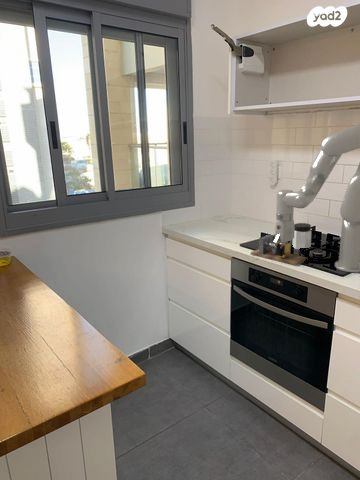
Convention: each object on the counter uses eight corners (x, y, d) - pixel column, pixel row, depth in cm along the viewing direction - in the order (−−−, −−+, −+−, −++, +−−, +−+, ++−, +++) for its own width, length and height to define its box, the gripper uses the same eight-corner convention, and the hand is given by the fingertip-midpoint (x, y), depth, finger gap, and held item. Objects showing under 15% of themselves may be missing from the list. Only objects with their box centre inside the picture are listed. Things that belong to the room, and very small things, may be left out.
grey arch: (272, 252, 178) (272, 235, 176) (263, 256, 173) (263, 239, 171) (268, 251, 180) (268, 234, 177) (258, 255, 175) (259, 238, 172)
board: (307, 260, 166) (307, 257, 165) (296, 266, 159) (296, 263, 159) (262, 249, 184) (262, 247, 183) (250, 254, 177) (250, 252, 177)
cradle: (278, 256, 173) (279, 247, 172) (275, 257, 171) (275, 249, 170) (275, 255, 174) (275, 246, 173) (271, 256, 172) (271, 248, 171)
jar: (302, 251, 178) (303, 228, 174) (289, 247, 185) (290, 225, 181) (313, 247, 183) (314, 224, 179) (300, 243, 189) (301, 222, 186)
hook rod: (290, 255, 169) (290, 243, 167) (284, 257, 166) (284, 245, 164) (262, 248, 181) (262, 237, 179) (256, 251, 177) (256, 239, 176)
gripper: (281, 221, 155) (280, 260, 161) (301, 214, 166) (300, 250, 172) (266, 219, 161) (266, 257, 166) (287, 212, 172) (286, 247, 177)
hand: (283, 253), depth 169 cm, fingers open, 6 cm apart
